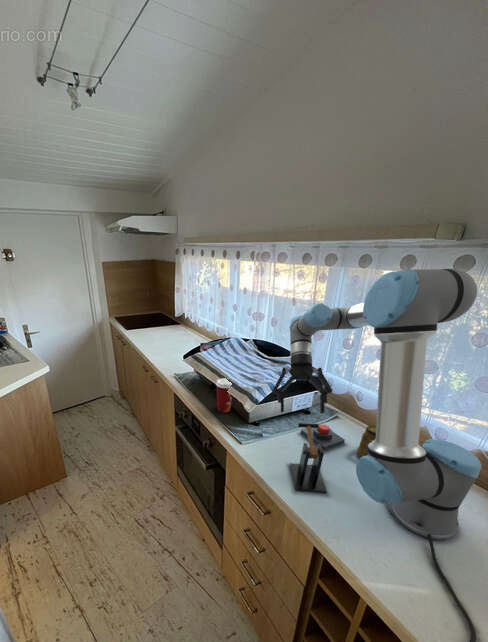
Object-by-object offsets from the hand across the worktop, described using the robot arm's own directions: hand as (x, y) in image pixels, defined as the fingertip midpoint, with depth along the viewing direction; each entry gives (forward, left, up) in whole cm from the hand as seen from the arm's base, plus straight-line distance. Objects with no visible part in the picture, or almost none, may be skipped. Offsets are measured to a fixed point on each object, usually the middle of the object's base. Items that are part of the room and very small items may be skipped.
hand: (302, 412), depth 109 cm
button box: (+2, -10, -13) cm, 17 cm away
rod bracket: (-19, +4, -14) cm, 24 cm away
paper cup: (+27, +24, -14) cm, 38 cm away
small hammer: (-15, +3, -2) cm, 15 cm away
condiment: (-10, -20, -14) cm, 27 cm away
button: (+2, -10, -10) cm, 14 cm away
